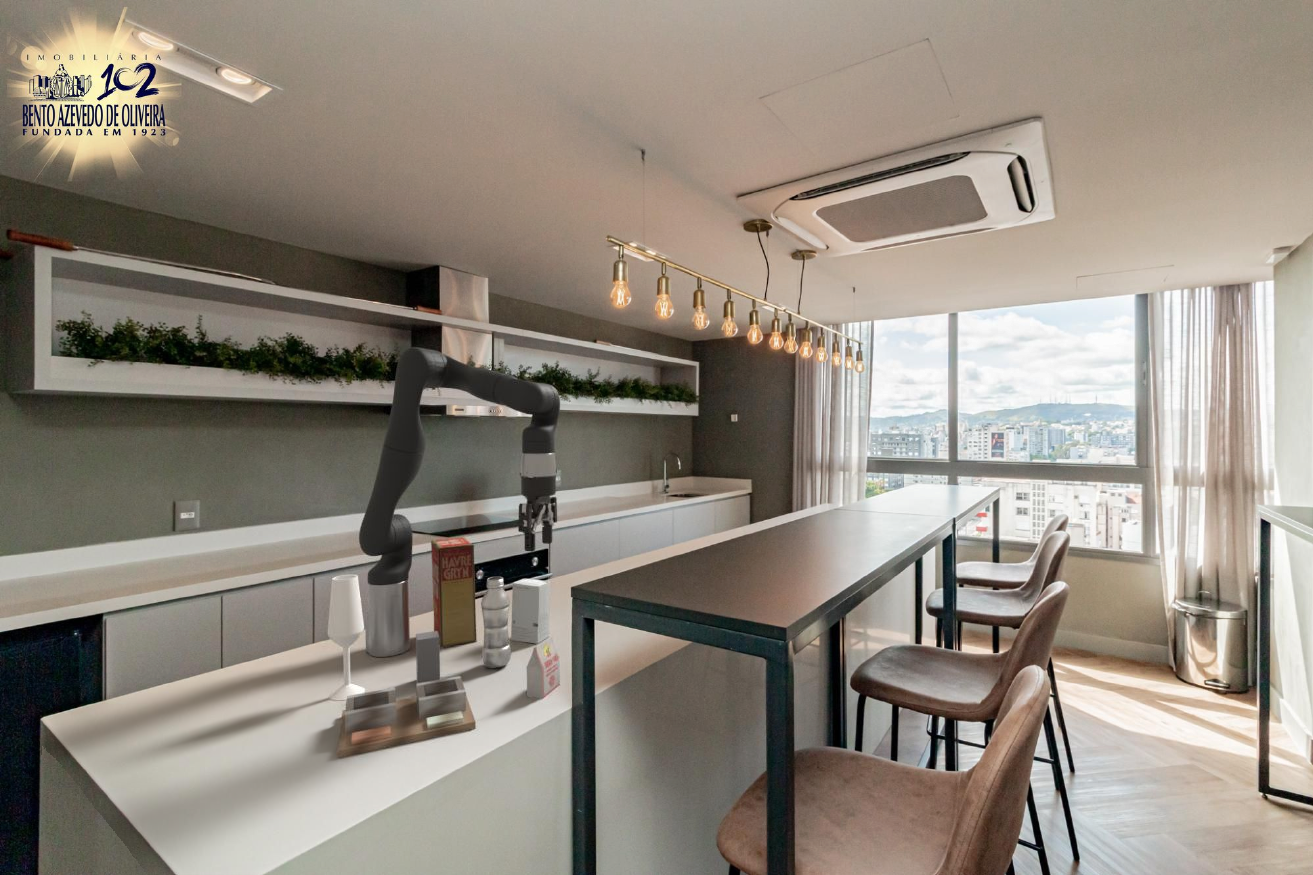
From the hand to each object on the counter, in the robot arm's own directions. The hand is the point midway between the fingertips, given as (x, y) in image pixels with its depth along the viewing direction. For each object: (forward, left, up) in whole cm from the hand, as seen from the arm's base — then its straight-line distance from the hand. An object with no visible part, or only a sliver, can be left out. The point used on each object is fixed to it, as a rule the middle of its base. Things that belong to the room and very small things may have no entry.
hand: (538, 547), depth 133 cm
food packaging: (-34, +14, -28) cm, 46 cm away
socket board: (-12, -27, -28) cm, 41 cm away
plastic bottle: (-12, 0, -28) cm, 31 cm away
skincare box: (-14, +19, -28) cm, 36 cm away
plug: (-21, -12, -28) cm, 37 cm away
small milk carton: (+5, -7, -28) cm, 30 cm away
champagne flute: (-33, -21, -28) cm, 48 cm away
